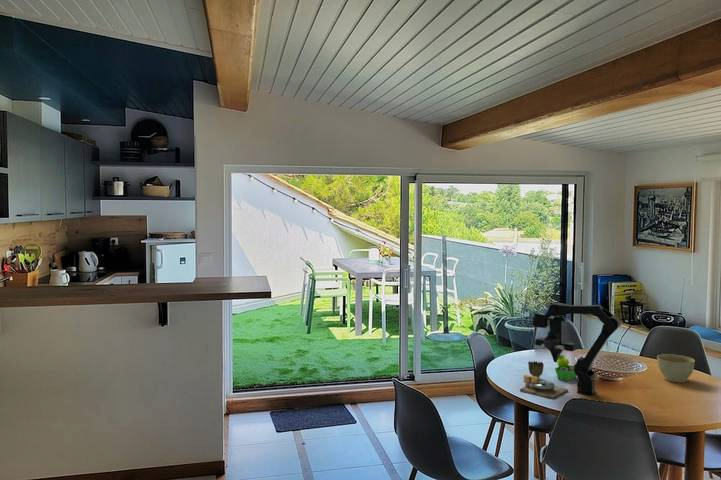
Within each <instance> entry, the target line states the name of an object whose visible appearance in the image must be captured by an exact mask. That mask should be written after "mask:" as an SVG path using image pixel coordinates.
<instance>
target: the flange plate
mask: <svg viewBox="0 0 721 480" xmlns="http://www.w3.org/2000/svg"><path fill="white" fill-rule="evenodd" d="M526 376H529V385H530V384H532V386H533V387H534V388H537V389H542V390H551V389H554V388H555V386H556V385H555V383H554V382H551V381H547V380H545V381H546V384H541V381H542V380H539V379H538V377H535V376H532V375H531V374H524V375H523V383H525V377H526Z"/></svg>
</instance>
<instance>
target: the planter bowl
mask: <svg viewBox="0 0 721 480" xmlns="http://www.w3.org/2000/svg"><path fill="white" fill-rule="evenodd" d="M656 359H657V366H658V368H659V371H660V373H661V374H662V376H663V377H664V378H663V379H664V380H666V381H669V382H671V383H686V382H688V381H687V380H688V379H689V377H690V376H691V375H692V374H693V371H694V368H695V363H696V360H695V359H694V358H693V357H691V356H690V357H689V356H685V355H679V354H672V353H671V354H669V353H663V354H659V355H657V356H656Z"/></svg>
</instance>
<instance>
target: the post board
mask: <svg viewBox="0 0 721 480" xmlns="http://www.w3.org/2000/svg"><path fill="white" fill-rule="evenodd" d="M540 381H541V384H546V381H547V380H540ZM519 391H520V392H523V393H526V394H530V395H534V396H539V397H542V398H547V399H551V400H554V399H556V398H558V397H561V396H562V395H563V394H565V393H568V391H569V389H568V388H564V387H559V386H556V385H555V388H554V389H551V390H542V389H537V388H534V387H533V386H532V384H529V387H525V386H523V387H521V388H519Z"/></svg>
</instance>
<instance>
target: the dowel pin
mask: <svg viewBox="0 0 721 480" xmlns="http://www.w3.org/2000/svg"><path fill="white" fill-rule="evenodd" d="M529 385H530V384H529V376H526V377H525V385H524V387H529Z"/></svg>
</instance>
